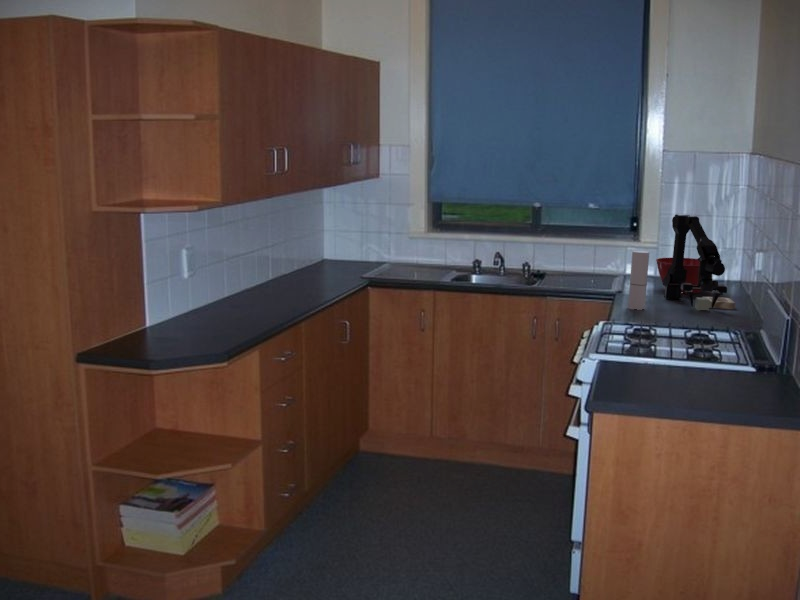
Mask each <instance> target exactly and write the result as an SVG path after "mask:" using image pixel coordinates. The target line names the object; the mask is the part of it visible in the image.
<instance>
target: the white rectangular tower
mask: <svg viewBox="0 0 800 600" xmlns="http://www.w3.org/2000/svg"><path fill="white" fill-rule="evenodd" d="M649 261H650V251H646V250H632V252H631V262H630V263H631V264H630V265H631V266H630V277H629V279H630V280H629V291H628V292H629V293H628V300H627V301H628V302H627V308H628V309H630V310H634V309H637V310H636V311H641V310H642V309H644V310H645V309H646V297H647V285H648V273H649V271H648V270H649ZM642 311H643V310H642Z"/></svg>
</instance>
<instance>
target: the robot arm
mask: <svg viewBox="0 0 800 600" xmlns="http://www.w3.org/2000/svg"><path fill="white" fill-rule="evenodd" d="M671 219H672V220H671V223H672V225H671V227H672V230H673V231H674V242H673V252H672V258H673V260H672V265H671V266H670V267H669V269H668V272H667V275H666V276H665V278H664V279H663V281H662V280H661V282H662V285H663V286H664V287H665V286H666V287H665V290H664V291H665V292H664V296H663V298H664V297H665V298H666V299H665V298H664V299H665V300H671V299H680V300H681V299H682V294H681V291H682V290H683V291H685V292H686V293H687V294H686V295H688V296H687V297H688V299H689V304H690V306H691V307H694V294H693V292H692V289H695V290H701V291H700V292H709V293H711V292H713V293H712V297H713V299H712V308H711V309H714V308H713V307H714V305H715V302H716V300H717V299H718V297H720V296H722V295H723V294H727V293H728V287H727V286H726V285H724V284H719V280H716V279H713V276H717V277H720V276H722V275H723V274H724V273H725V271H726V267H725V264H724V263H723V262H722V260H721V254H720V253H719V250H718V246H717V245H716V243H715V242H714V240H711V239H710V238H709V237H708V235H707V234H706V231H705V230H704V228H703V226H702V224H701V222H700V217H699V216H696V215H690V214H675V215H674V216H673V217H672V218H671ZM689 232H691V234H692V236H693V237H694V240H695V242H696V243H697V245H696V251H697V254H698V255H699V257H698V258H696V259H697V260H698V261H700V262H699V273H698V282H697V285H692V284H691V283H685V281H686V278H687V277H686V274H687V270H686V269H685V268H684V266H683V262H684V258H685V252H686V251H685V250H686V242H687V234H688V233H689ZM670 283H676V284H670ZM680 286H681V287H680ZM699 287H700V288H699ZM680 288H681V289H682V290H681V289H680Z"/></svg>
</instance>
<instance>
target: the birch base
mask: <svg viewBox="0 0 800 600" xmlns="http://www.w3.org/2000/svg"><path fill="white" fill-rule="evenodd" d="M701 298H708V299H709V300H710V304H709V309H721V310H722V309H723V310H735V307H736V302H735V301H734V300H732V299H731V298H730V297H720V296H719V297H718V299H717V300H716V302H715V305H714V307H713V308H712V299H713V296H701Z"/></svg>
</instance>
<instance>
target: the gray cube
mask: <svg viewBox="0 0 800 600" xmlns="http://www.w3.org/2000/svg"><path fill="white" fill-rule="evenodd" d="M694 304H695V305H694V309H695V308H696V309H697V310H696V309H695V310H696V311H700V310H708V311H707V312H709V311H710V308H709V304H710V300H709V299H708V298H702V297H695V303H694Z"/></svg>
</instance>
